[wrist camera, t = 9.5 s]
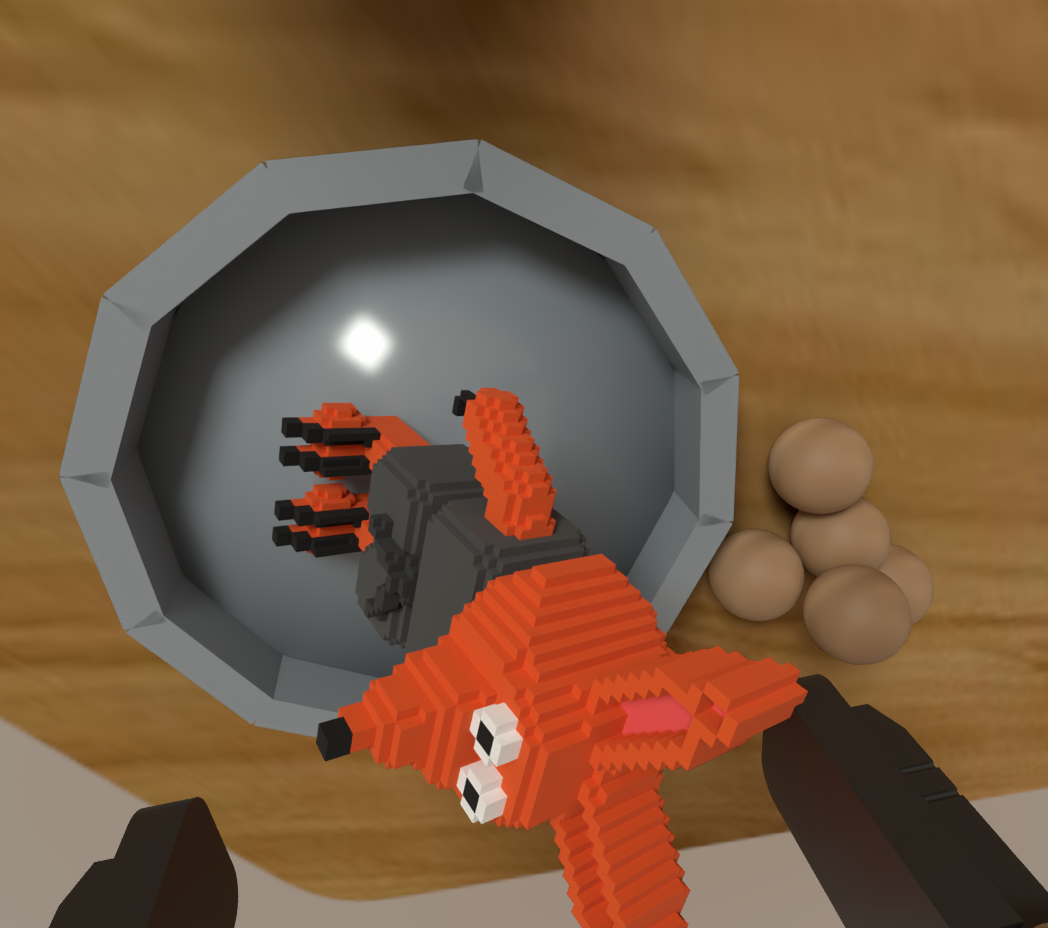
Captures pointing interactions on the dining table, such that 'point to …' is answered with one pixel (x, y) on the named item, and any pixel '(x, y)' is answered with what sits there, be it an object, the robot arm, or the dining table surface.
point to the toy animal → (518, 650)
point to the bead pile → (826, 551)
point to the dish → (383, 399)
